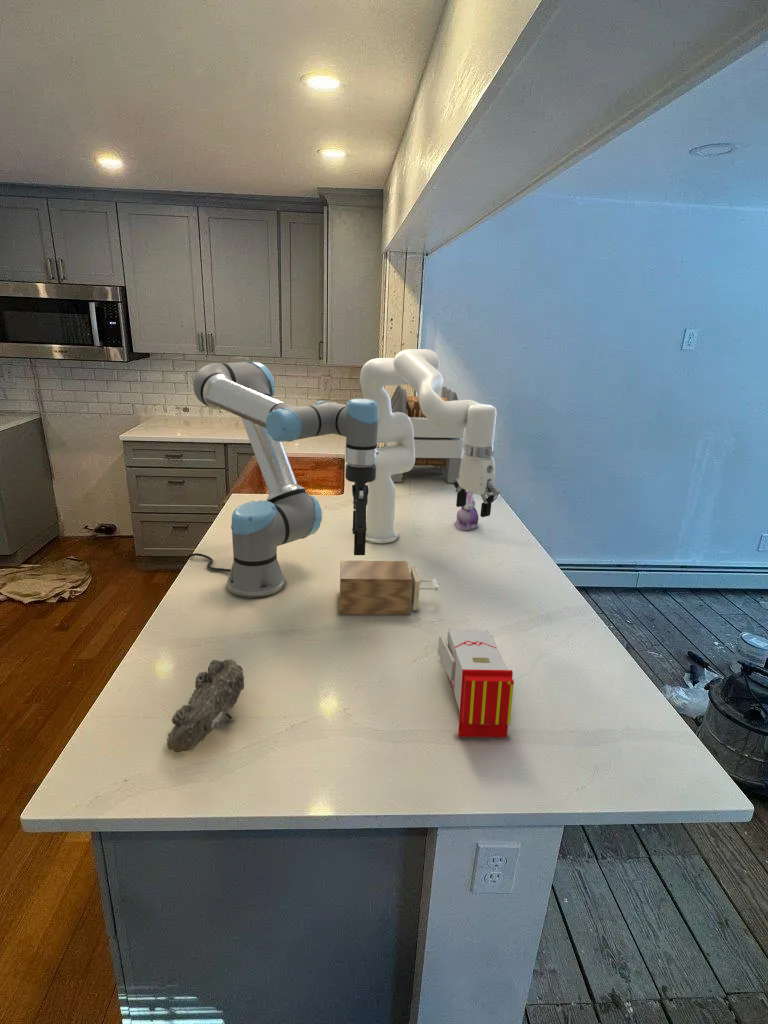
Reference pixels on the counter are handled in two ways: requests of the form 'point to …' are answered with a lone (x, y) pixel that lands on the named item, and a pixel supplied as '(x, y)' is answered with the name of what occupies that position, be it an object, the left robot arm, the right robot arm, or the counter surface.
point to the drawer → (416, 588)
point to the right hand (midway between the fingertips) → (472, 510)
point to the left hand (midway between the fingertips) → (358, 543)
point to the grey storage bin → (430, 436)
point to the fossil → (206, 705)
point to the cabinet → (375, 587)
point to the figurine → (467, 514)
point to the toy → (478, 682)
